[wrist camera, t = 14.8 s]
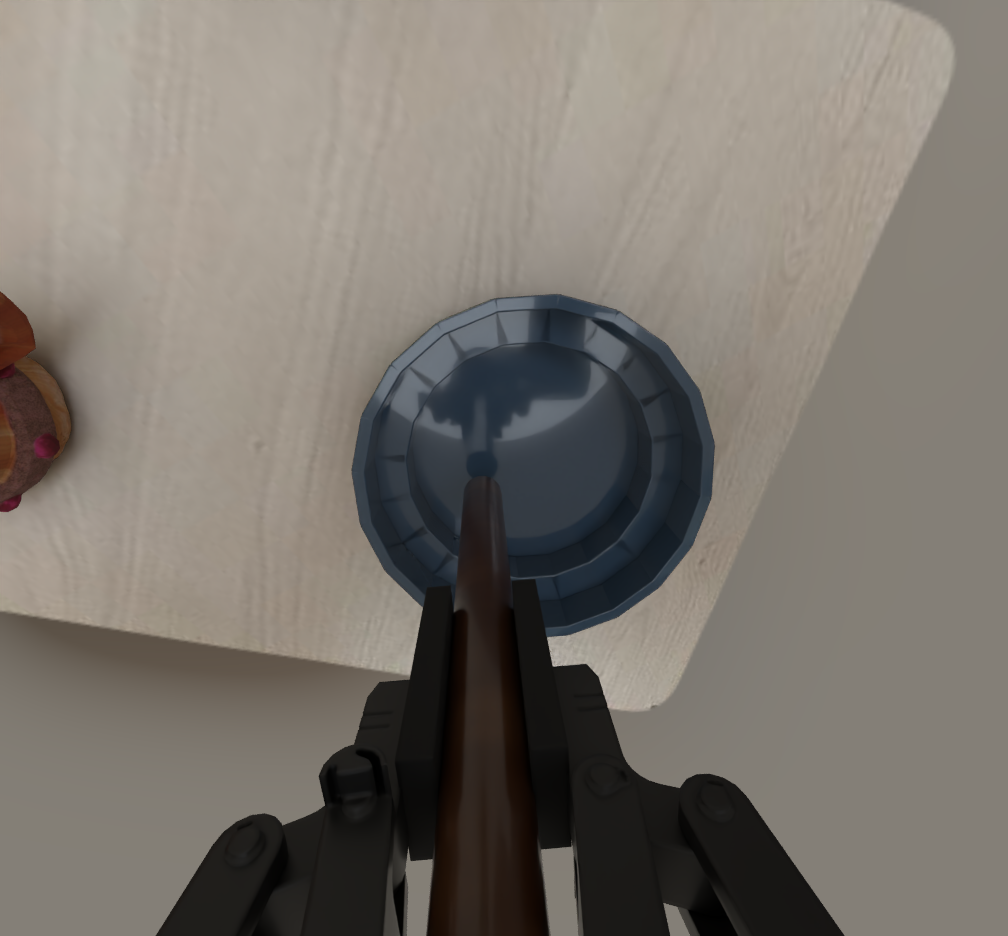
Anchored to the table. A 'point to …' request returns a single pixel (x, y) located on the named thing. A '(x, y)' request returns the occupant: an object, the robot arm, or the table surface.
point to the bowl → (538, 454)
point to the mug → (26, 410)
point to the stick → (485, 750)
